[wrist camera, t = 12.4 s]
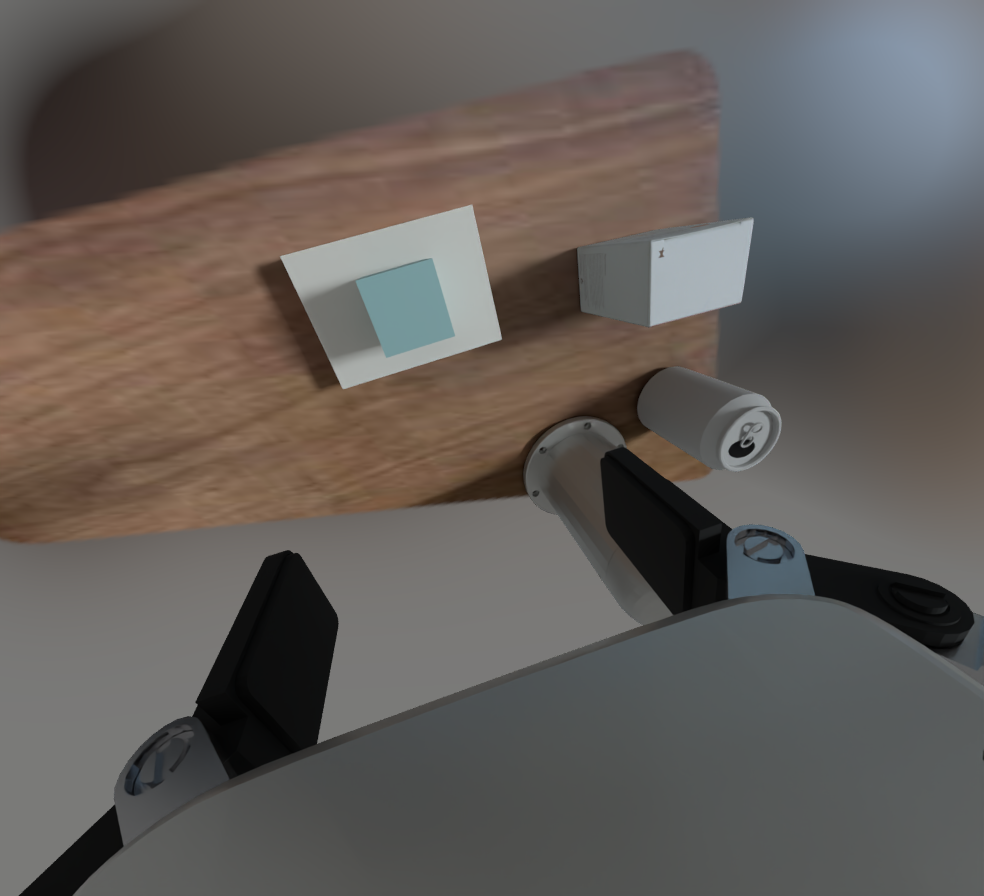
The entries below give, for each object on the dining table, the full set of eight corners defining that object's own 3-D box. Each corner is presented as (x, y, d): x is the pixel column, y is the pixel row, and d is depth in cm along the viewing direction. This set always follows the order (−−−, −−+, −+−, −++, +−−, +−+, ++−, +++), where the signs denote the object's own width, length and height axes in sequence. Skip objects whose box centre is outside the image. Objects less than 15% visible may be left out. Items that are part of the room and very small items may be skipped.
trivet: (465, 208, 29) (471, 204, 27) (494, 334, 34) (502, 339, 32) (288, 256, 27) (280, 256, 25) (345, 380, 32) (343, 389, 30)
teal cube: (425, 258, 28) (432, 258, 23) (445, 325, 30) (455, 336, 26) (360, 277, 27) (355, 280, 23) (386, 343, 29) (386, 357, 25)
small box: (578, 312, 35) (646, 330, 26) (575, 246, 32) (649, 240, 23) (653, 293, 36) (744, 305, 27) (656, 228, 33) (757, 216, 24)
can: (624, 426, 42) (702, 480, 32) (643, 362, 39) (736, 398, 29) (677, 427, 44) (766, 478, 34) (700, 366, 41) (805, 401, 31)
